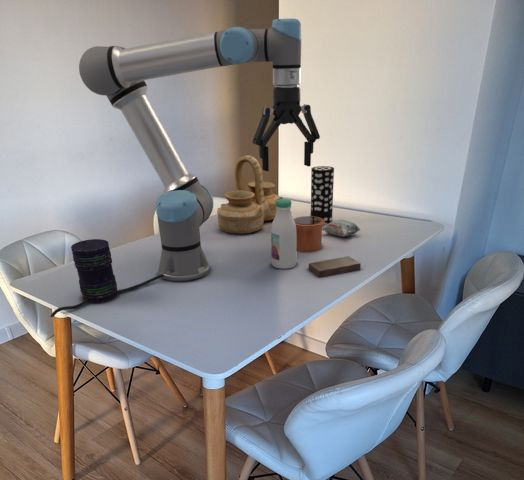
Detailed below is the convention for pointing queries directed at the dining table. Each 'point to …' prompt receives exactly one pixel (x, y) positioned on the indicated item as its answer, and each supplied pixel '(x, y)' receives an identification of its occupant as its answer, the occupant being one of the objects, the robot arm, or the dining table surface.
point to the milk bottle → (283, 236)
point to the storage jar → (95, 270)
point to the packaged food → (341, 228)
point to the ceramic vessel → (248, 202)
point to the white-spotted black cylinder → (322, 192)
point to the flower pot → (308, 233)
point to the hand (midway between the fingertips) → (286, 168)
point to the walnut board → (334, 266)
